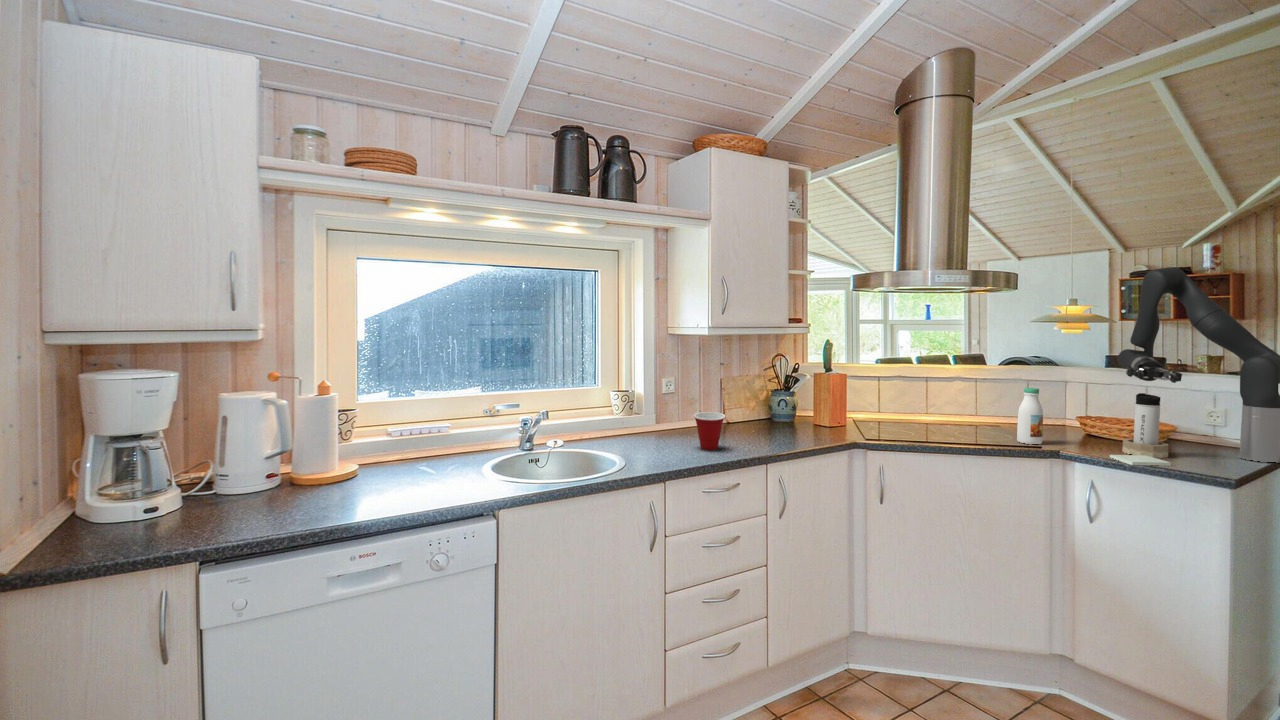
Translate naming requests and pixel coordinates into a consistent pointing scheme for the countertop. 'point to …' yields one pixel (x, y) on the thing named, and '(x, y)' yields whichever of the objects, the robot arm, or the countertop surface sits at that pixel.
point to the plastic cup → (709, 429)
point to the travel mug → (1147, 419)
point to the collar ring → (1145, 449)
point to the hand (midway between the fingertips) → (1158, 378)
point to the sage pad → (1140, 460)
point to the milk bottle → (1030, 418)
